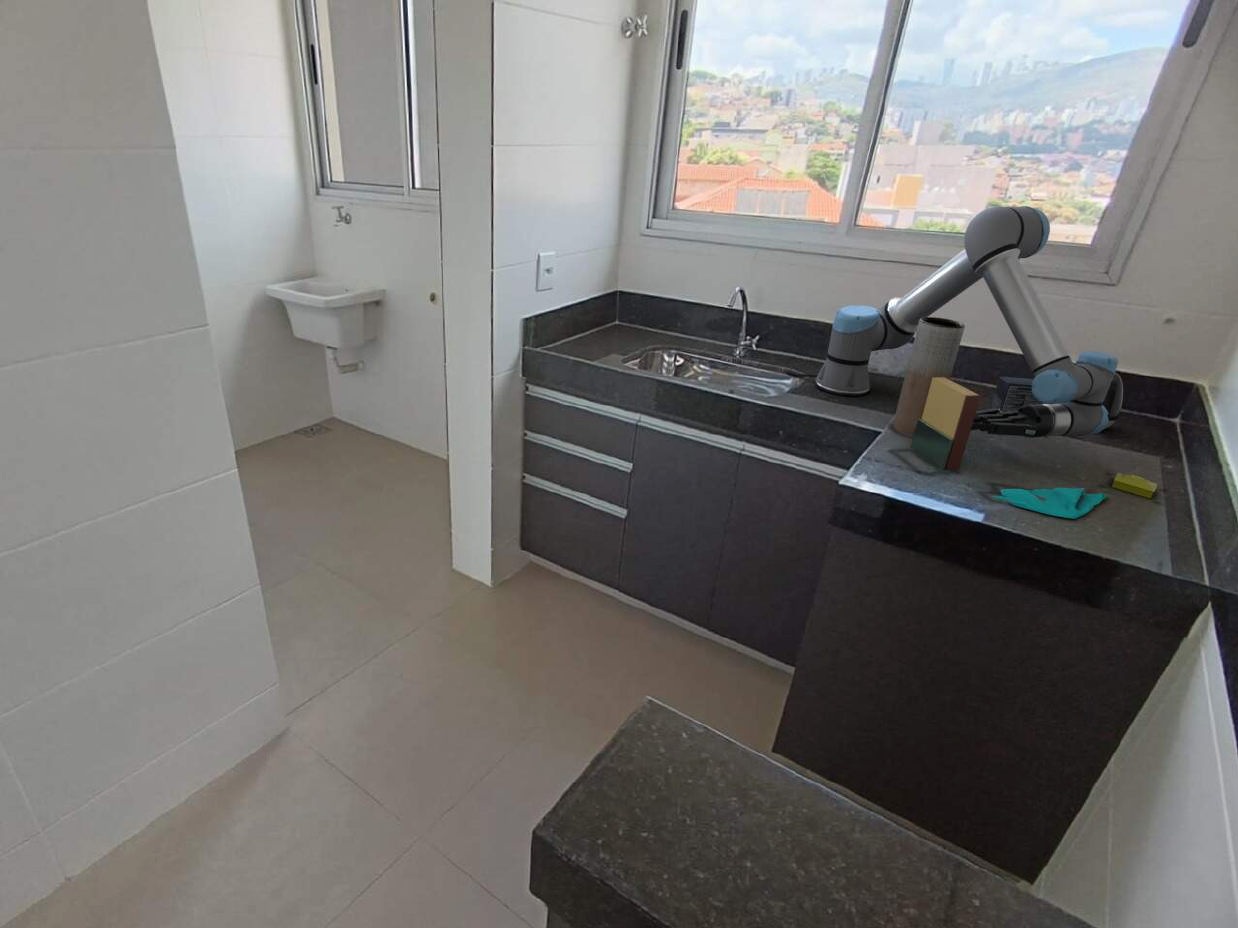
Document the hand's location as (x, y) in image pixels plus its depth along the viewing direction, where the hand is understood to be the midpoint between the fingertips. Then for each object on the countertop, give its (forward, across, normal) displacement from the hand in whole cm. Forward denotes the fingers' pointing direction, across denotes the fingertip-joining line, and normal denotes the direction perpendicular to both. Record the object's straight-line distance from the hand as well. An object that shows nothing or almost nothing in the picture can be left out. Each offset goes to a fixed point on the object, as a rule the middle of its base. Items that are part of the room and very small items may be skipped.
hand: (952, 423), depth 146 cm
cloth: (-10, -21, -9) cm, 25 cm away
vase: (-4, +17, -9) cm, 20 cm away
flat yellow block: (-35, -17, -9) cm, 40 cm away
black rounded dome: (-58, +16, -9) cm, 61 cm away
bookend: (+6, 0, -9) cm, 11 cm away
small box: (-39, +24, -9) cm, 47 cm away
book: (+2, 0, -9) cm, 9 cm away
